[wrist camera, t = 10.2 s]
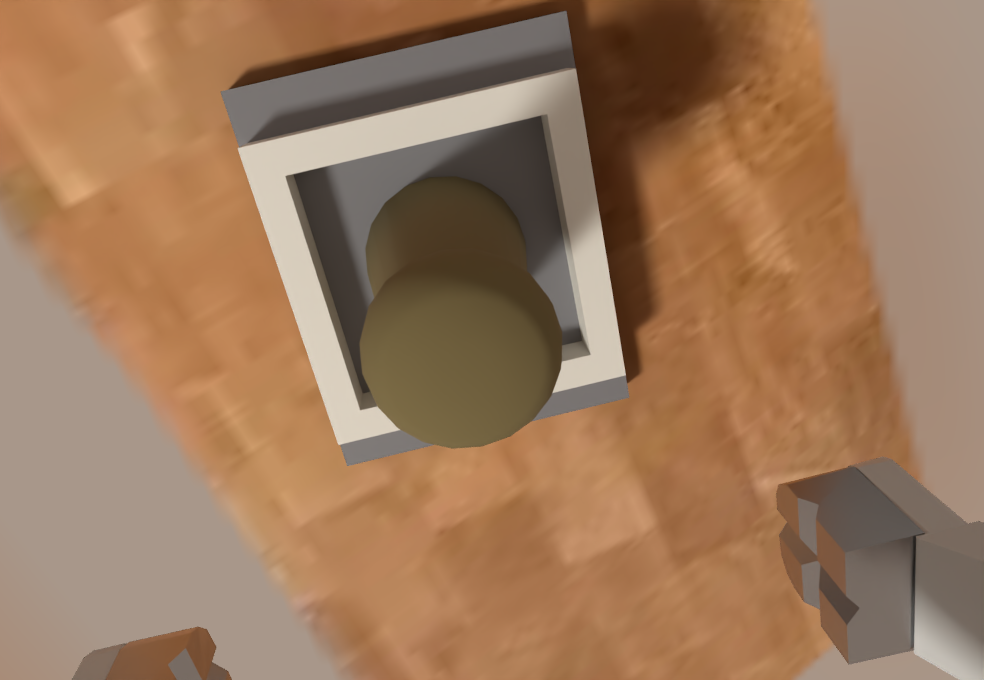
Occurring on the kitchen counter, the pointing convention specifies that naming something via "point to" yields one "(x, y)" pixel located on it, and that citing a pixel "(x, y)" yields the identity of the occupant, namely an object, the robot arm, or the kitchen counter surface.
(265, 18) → the kitchen counter surface
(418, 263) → the olive knobbed peg
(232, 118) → the notch board
